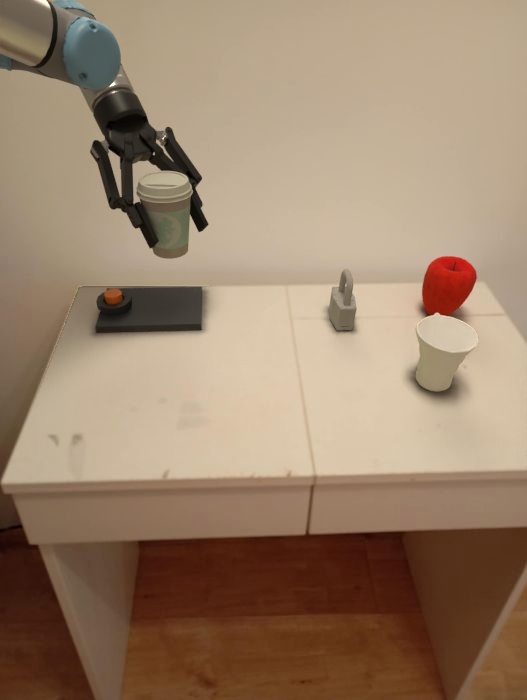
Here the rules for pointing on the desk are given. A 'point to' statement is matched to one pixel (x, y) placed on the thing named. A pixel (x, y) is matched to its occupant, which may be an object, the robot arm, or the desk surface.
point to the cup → (442, 349)
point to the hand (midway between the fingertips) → (179, 236)
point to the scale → (151, 310)
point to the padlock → (343, 303)
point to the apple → (447, 284)
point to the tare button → (113, 296)
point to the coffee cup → (167, 210)
